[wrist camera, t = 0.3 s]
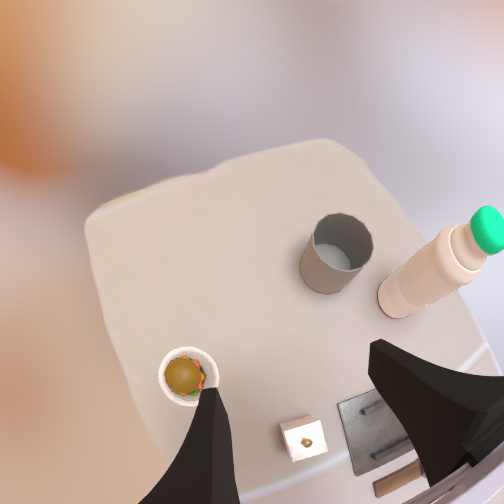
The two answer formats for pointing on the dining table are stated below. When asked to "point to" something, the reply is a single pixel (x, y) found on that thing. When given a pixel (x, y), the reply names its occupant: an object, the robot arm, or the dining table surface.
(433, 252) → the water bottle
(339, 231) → the cup
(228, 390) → the dining table surface
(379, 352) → the robot arm
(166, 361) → the burger on plate
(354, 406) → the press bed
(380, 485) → the rail
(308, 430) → the block
